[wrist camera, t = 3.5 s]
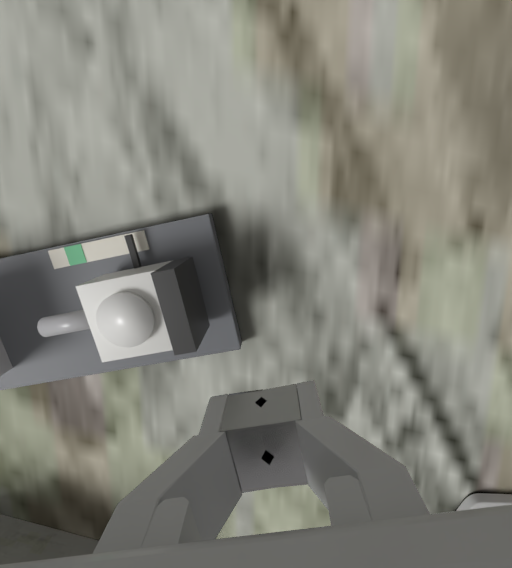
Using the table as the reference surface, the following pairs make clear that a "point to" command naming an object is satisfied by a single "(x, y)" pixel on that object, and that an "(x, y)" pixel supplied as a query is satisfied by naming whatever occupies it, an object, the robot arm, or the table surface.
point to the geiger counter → (38, 542)
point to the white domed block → (138, 310)
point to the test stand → (64, 298)
